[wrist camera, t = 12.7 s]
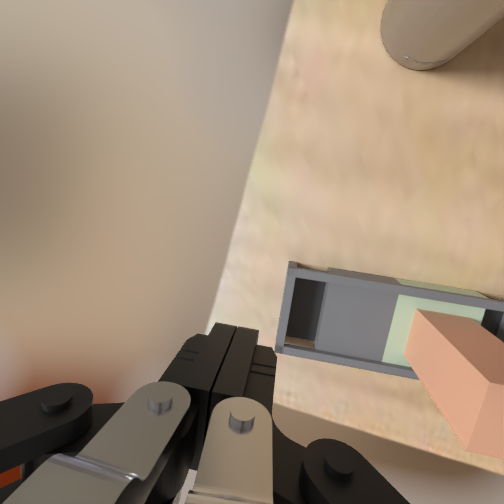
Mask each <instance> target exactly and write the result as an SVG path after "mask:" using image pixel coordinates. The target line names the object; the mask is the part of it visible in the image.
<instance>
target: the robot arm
mask: <svg viewBox="0 0 504 504" xmlns="http://www.w3.org/2000/svg"><path fill="white" fill-rule="evenodd" d="M502 18H504V0H388V1H387V4H386V6H385V9H384V11H383V16H382V20H381V35H382V40H383V44H384V46H385V48H386V51H387V52H388V53H389V55H390V56H391V58H392V59H394V60H395V61H396V62H397V63H398V64H400V65H402V66H404V67H406V68H409V69H414V70H428V69H432V68H436V67H438V66H440V65H443V64H445V63H446V62H448V61H449V60H451V59H452V58H454V57H455V56H456V55H457V54H459V53H460V52H461V51H462V50H464V49H465V48H466V47H467V46H469V45H470V44H471V43H472V42H474V41H475V40H476V39H478V38H479V37H480V36H481V35H483V34H484V33H485V32H486V31H488V30H489V29H490V28H491V27H492V26H494V25H495V24H496V23H497V22H499V21H500V20H501V19H502ZM258 334H259V330H255V329H250V328H244V327H239V326H238V328H237V326H233V325H228V324H222V323H217V322H216V323H215V325H214V326H213V328H212V330H211V332H210V333H209V335H202V334H196V335H195V336H193V337H191V338H189V339H188V340H187V341H186V342H185V343H184V345H183V346H182V348H181V350H180V351H179V352H178V353H177V355H176V357H175V358H174V360H173V361H172V362H171V364H170V365H169V367H168V368H167V369H166V371H165V372H164V374H163V375H162V376H161V378H160V379H159V381H158V382H153V383H150V384H147V385H145V386H143V387H141V388H139V389H138V390H137V391H135V392H134V393H133V394H132V396H131V397H130V398H129V399H128V400H127V401H126V402H124V403H110V404H93V394H92V392H91V390H90V389H89V388H88V387H86V386H84V385H81V384H77V383H61V384H55V385H52V386H48V387H45V388H42V389H39V390H35V391H32V392H29V393H26V394H23V395H19V396H16V397H13V398H10V399H7V400H4V401H0V474H1V473H3V472H5V471H7V470H10V469H12V468H14V467H16V466H19V465H20V469H21V479H19V480H17V481H15V482H13V483H11V484H8V485H6V486H4V487H2V488H0V504H178V503H179V500H180V496H181V490H182V486H183V484H184V482H185V479H186V476H187V474H188V471H189V469H193V470H197V474H196V478H195V482H194V486H193V490H190V491H189V492H188V495H187V498H186V501H185V504H410V503H409V502H408V501H407V500H406V499H405V498H404V497H403V496H402V495H401V494H400V493H399V492H398V491H397V490H396V489H395V488H394V487H393V486H392V485H391V484H390V483H389V482H388V481H387V480H386V479H385V478H384V477H383V476H382V475H381V474H380V473H379V472H378V471H377V470H376V469H375V468H374V467H373V466H372V465H371V464H370V463H369V462H368V461H367V460H366V459H365V458H364V457H363V456H362V455H361V454H360V453H359V452H358V451H356V450H355V449H354V448H352V447H351V446H349V445H347V444H345V443H343V442H340V441H337V440H333V439H318V440H315V441H313V442H312V443H310V444H309V445H308V446H307V447H306V448H305V447H304V446H301V445H300V444H298V443H295V442H294V441H292V440H290V439H289V438H287V437H286V436H284V434H283V433H281V432H280V430H279V429H278V428H277V427H276V425H275V423H274V421H273V418H272V404H273V393H274V383H275V373H276V363H277V356H276V354H275V353H274V351H273V349H272V348H271V347H266V346H261V345H257V341H258Z"/></svg>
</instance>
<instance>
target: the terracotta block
mask: <svg viewBox="0 0 504 504" xmlns="http://www.w3.org/2000/svg"><path fill="white" fill-rule="evenodd" d="M404 356H405V358H406V359H407V361H408V362H409V364H410V366H411V367H412V369H413V370H414V372H415V373H416V375H417V376H418V378H419V379H420V381H421V382H422V384H423V386H424V387H425V389H426V390H427V392H428V393H429V395H430V396H431V398H432V399H433V401H434V402H435V404H436V406H437V407H438V409H439V410H440V412H441V413H442V415H443V416H444V418H445V419H446V421H447V423H448V424H449V426H450V427H451V429H452V430H453V432H454V433H455V435H456V436H457V438H458V439H459V441H460V443H461V444H462V446H463V447H464V449H465V450H466V451H468V452H473V453H478V454H483V455H487V456H492V457H497V458H502V459H504V342H502V341H501V340H500V339H498V338H497V337H496V336H494V335H493V334H492V333H490V332H489V331H488V330H486V329H485V328H484V327H482V326H481V325H479V324H478V323H477V322H475V321H474V320H473V319H471V318H468V317H463V316H457V315H451V314H445V313H439V312H433V311H427V310H421V309H416V311H415V314H414V318H413V322H412V325H411V329H410V333H409V337H408V340H407V344H406V348H405V351H404Z"/></svg>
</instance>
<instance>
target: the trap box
mask: <svg viewBox="0 0 504 504" xmlns="http://www.w3.org/2000/svg"><path fill="white" fill-rule="evenodd" d="M416 309H421V310H427V311H433V312H439V313H445V314H451V315H457V316H463V317H468V318H471V319H473V320H474V321H475V322H477V323H478V324H479V325H481V326H482V327H484V328H485V329H486V330H488V331H489V332H490V333H492V334H493V335H494V336H496V337H497V338H498V339H500V340H501V341H502V342H504V301H501V300H495V299H489V298H487V297H486V296H484V295H482V294H480V293H479V292H477V291H472V290H466V289H459V288H453V287H447V286H441V285H435V284H428V283H422V282H416V281H410V280H404V279H397V278H391V277H385V276H379V275H372V274H366V273H360V272H354V271H348V270H341V269H335V268H329V269H328V272H323V271H317V270H310V269H304V268H298V267H297V262H292V261H289V264H288V270H287V276H286V282H285V288H284V294H283V300H282V306H281V312H280V318H279V324H278V330H277V336H276V343H275V353H281V354H286V355H291V356H296V357H302V358H307V359H312V360H317V361H322V362H328V363H333V364H338V365H343V366H349V367H354V368H359V369H364V370H370V371H375V372H380V373H385V374H391V375H396V376H401V377H406V378H412V379H417V380H420V379H419V378H418V376H417V375H416V373H415V372H414V370H413V369H412V367H411V366H410V364H409V362H408V361H407V359H406V358H405V356H404V351H405V348H406V344H407V340H408V337H409V333H410V329H411V325H412V322H413V318H414V314H415V311H416ZM285 336H291V337H296V338H302V339H307V340H313V341H314V345H313V349H311V348H306V347H300V346H295V345H290V344H284V342H285Z"/></svg>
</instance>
